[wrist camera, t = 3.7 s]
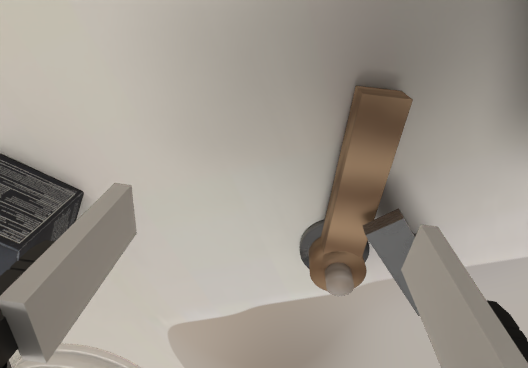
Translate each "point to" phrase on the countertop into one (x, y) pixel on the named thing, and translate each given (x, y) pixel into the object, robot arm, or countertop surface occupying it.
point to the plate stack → (79, 359)
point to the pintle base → (312, 235)
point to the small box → (32, 209)
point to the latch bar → (358, 187)
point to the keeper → (392, 245)
